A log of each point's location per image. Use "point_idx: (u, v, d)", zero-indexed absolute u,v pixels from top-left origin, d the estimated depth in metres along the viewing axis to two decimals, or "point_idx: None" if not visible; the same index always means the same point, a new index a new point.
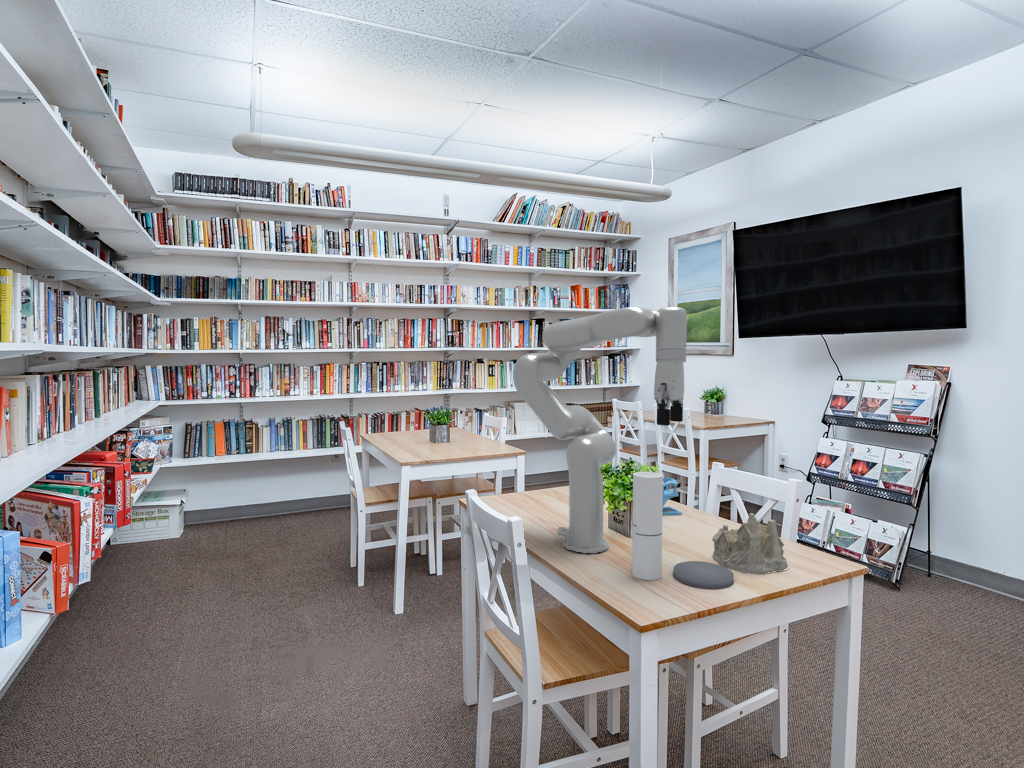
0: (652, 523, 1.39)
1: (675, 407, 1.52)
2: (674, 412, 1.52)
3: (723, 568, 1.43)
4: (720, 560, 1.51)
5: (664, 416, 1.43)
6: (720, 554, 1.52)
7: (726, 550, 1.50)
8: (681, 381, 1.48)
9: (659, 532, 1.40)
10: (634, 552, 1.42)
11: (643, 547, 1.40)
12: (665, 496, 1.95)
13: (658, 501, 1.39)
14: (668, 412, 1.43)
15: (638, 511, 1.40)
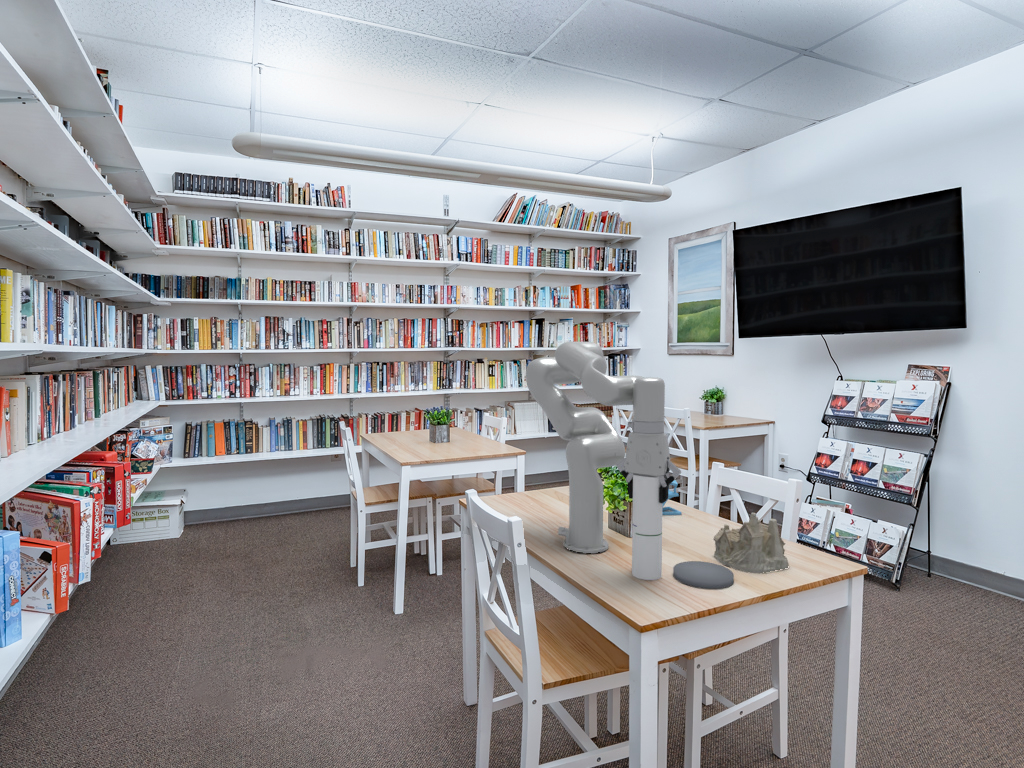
0: (652, 523, 1.39)
1: None
2: None
3: (723, 568, 1.43)
4: (722, 559, 1.51)
5: (667, 492, 1.40)
6: (721, 553, 1.53)
7: (728, 549, 1.50)
8: None
9: (659, 532, 1.40)
10: (634, 552, 1.42)
11: (643, 547, 1.40)
12: None
13: (658, 501, 1.39)
14: None
15: (638, 511, 1.40)
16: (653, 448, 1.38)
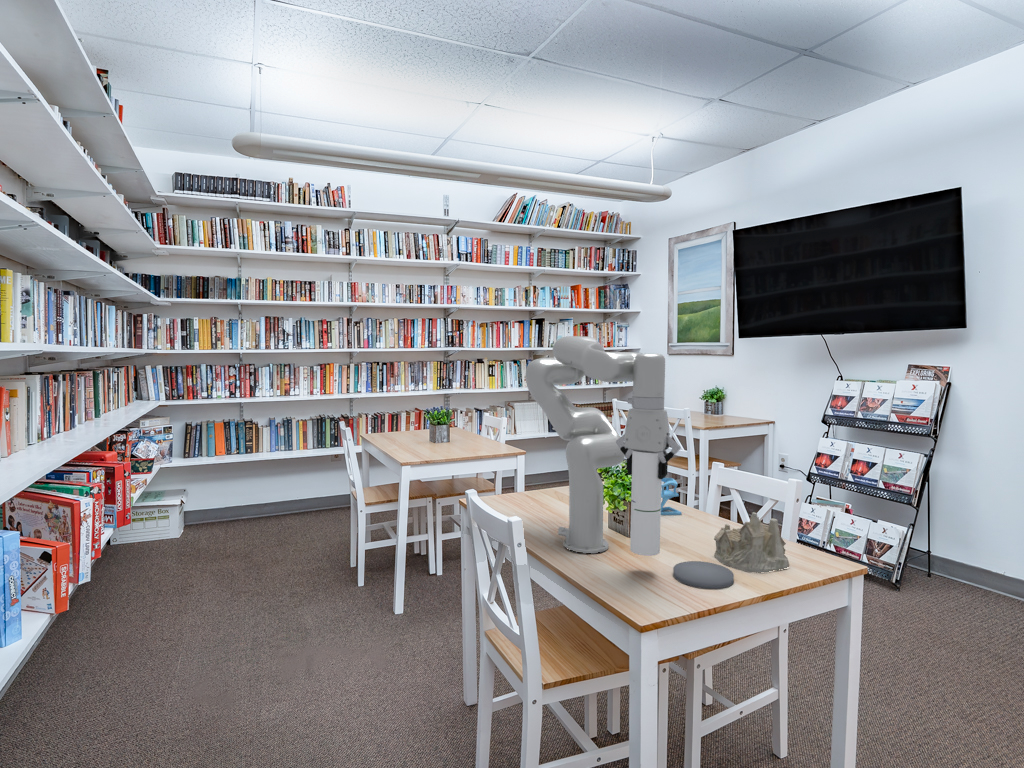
0: (651, 498, 1.39)
1: None
2: None
3: (723, 568, 1.43)
4: (722, 559, 1.51)
5: (666, 468, 1.40)
6: (722, 553, 1.53)
7: (728, 549, 1.50)
8: None
9: (658, 508, 1.40)
10: (632, 528, 1.42)
11: (641, 522, 1.40)
12: (665, 496, 1.95)
13: (657, 477, 1.39)
14: None
15: (637, 487, 1.40)
16: (653, 424, 1.38)
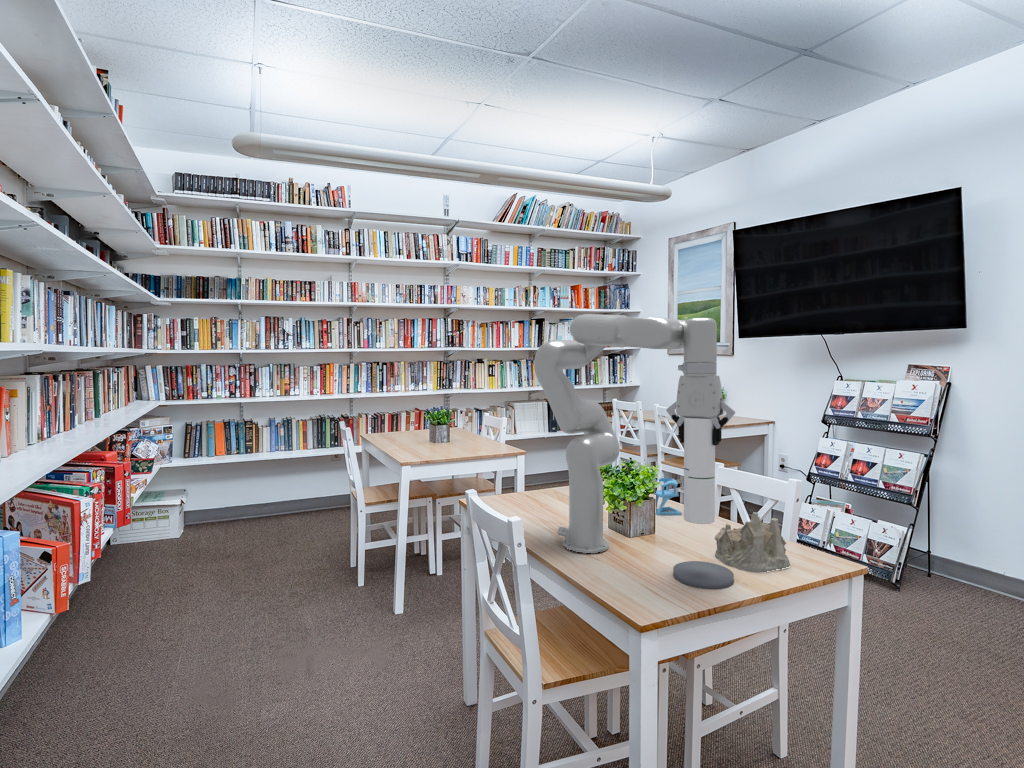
0: (705, 465, 1.37)
1: None
2: None
3: (723, 568, 1.43)
4: (723, 559, 1.51)
5: (720, 435, 1.37)
6: (723, 553, 1.53)
7: (729, 549, 1.51)
8: None
9: (712, 475, 1.37)
10: (686, 496, 1.39)
11: (696, 490, 1.37)
12: (665, 496, 1.95)
13: (711, 443, 1.37)
14: None
15: (691, 454, 1.38)
16: (706, 389, 1.36)
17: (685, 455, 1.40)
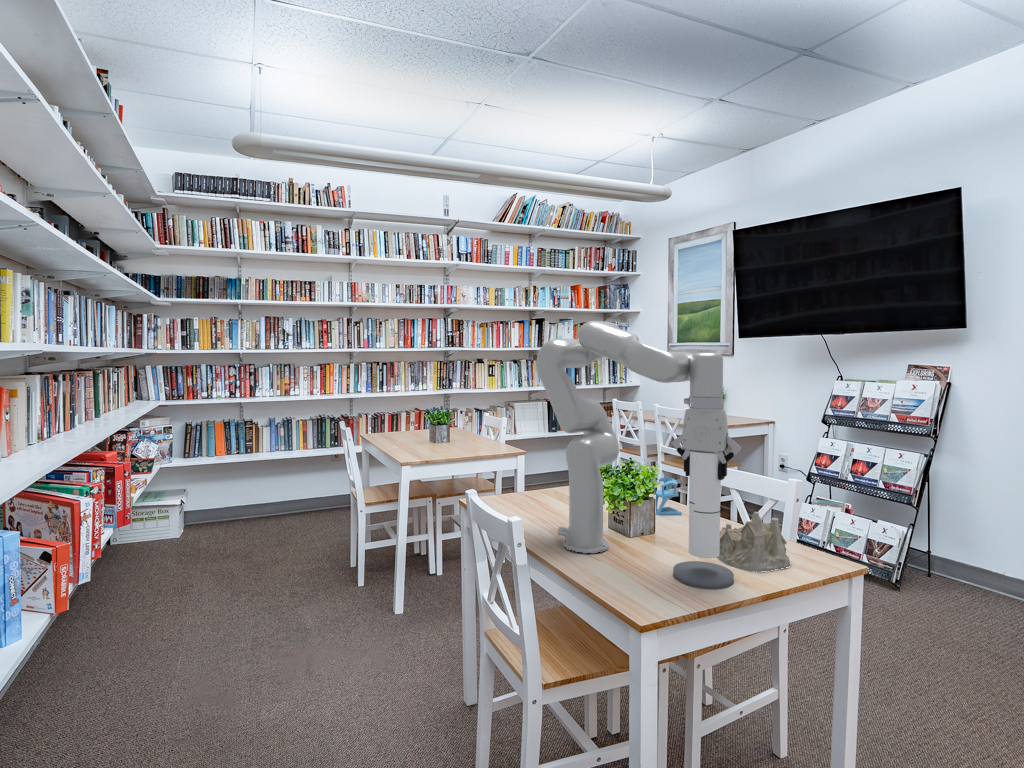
0: (711, 500, 1.37)
1: None
2: None
3: (723, 568, 1.43)
4: (724, 559, 1.52)
5: (726, 469, 1.38)
6: (724, 553, 1.53)
7: (730, 549, 1.51)
8: None
9: (718, 509, 1.38)
10: (691, 530, 1.40)
11: (701, 524, 1.38)
12: (665, 496, 1.95)
13: (716, 477, 1.37)
14: None
15: (697, 488, 1.38)
16: (712, 424, 1.36)
17: (691, 489, 1.40)
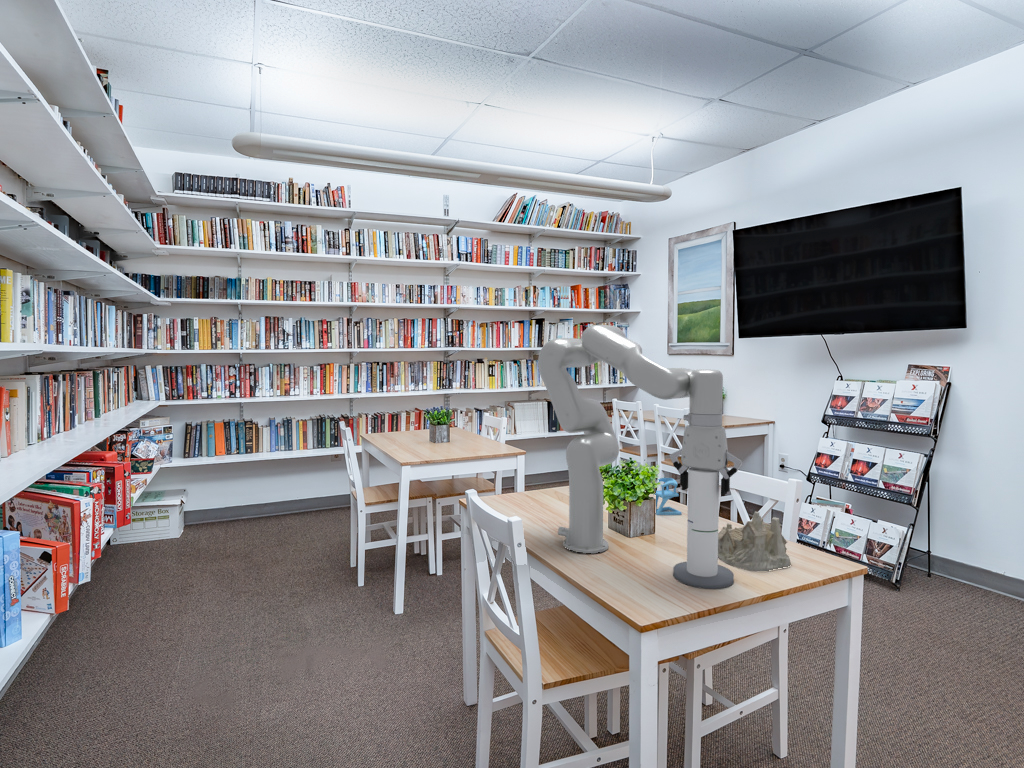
0: (709, 519, 1.37)
1: (686, 474, 1.43)
2: (686, 480, 1.42)
3: (723, 568, 1.43)
4: (725, 558, 1.52)
5: (729, 484, 1.38)
6: (724, 552, 1.53)
7: (731, 548, 1.51)
8: None
9: (716, 528, 1.38)
10: (689, 548, 1.40)
11: (700, 543, 1.38)
12: (665, 496, 1.95)
13: (715, 496, 1.37)
14: None
15: (695, 507, 1.38)
16: (712, 441, 1.36)
17: (689, 507, 1.40)
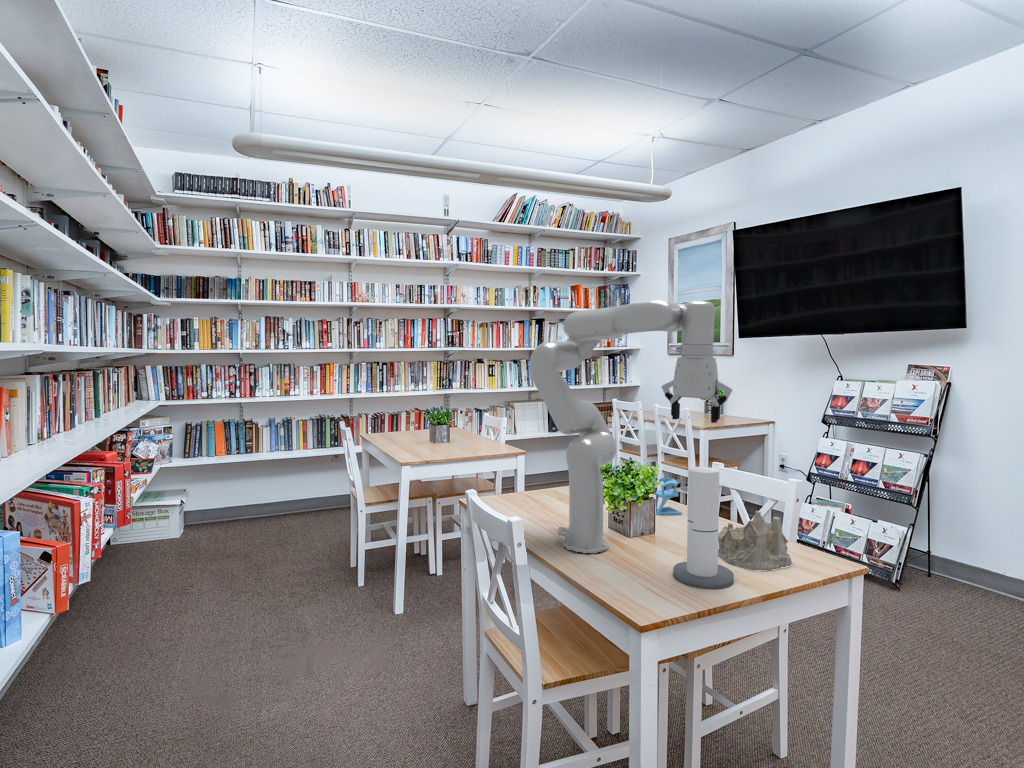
0: (709, 519, 1.37)
1: (677, 404, 1.47)
2: (677, 409, 1.47)
3: (723, 568, 1.43)
4: (726, 558, 1.52)
5: (719, 413, 1.41)
6: (725, 552, 1.54)
7: (732, 548, 1.52)
8: None
9: (716, 528, 1.38)
10: (689, 548, 1.40)
11: (700, 543, 1.38)
12: (665, 496, 1.95)
13: (715, 496, 1.37)
14: None
15: (695, 507, 1.38)
16: (702, 370, 1.40)
17: (689, 507, 1.40)
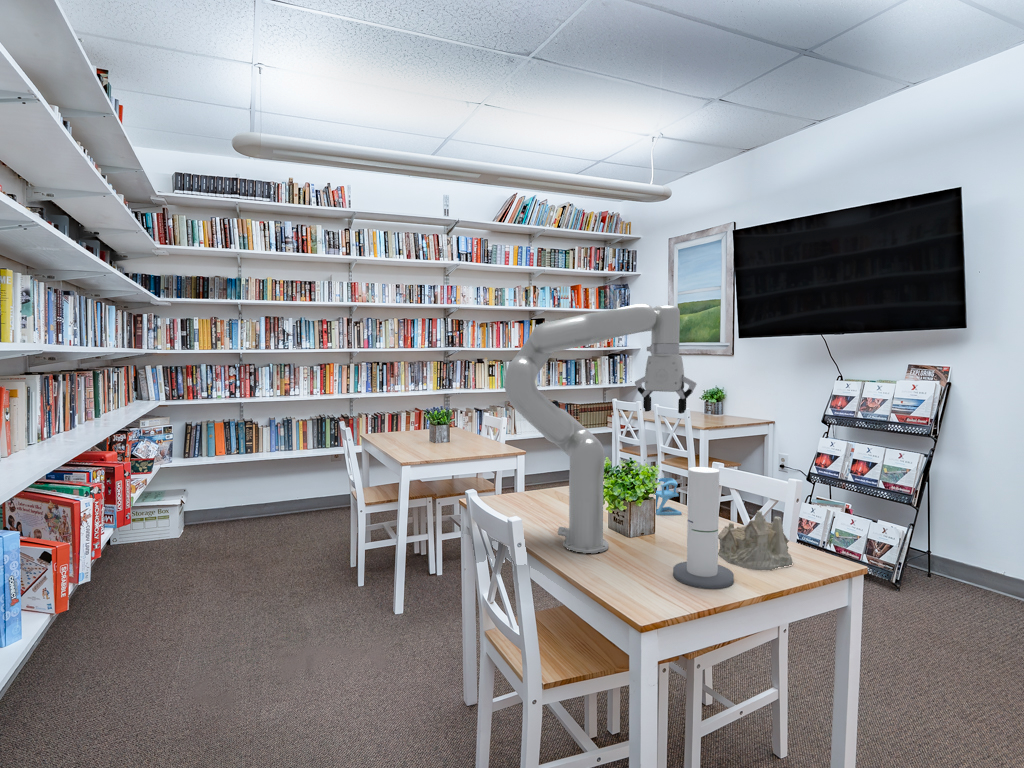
0: (709, 519, 1.37)
1: (648, 398, 1.64)
2: (648, 402, 1.64)
3: (723, 568, 1.43)
4: (727, 557, 1.52)
5: (685, 404, 1.59)
6: (727, 551, 1.54)
7: (733, 547, 1.52)
8: None
9: (716, 528, 1.38)
10: (689, 548, 1.40)
11: (700, 543, 1.38)
12: (665, 496, 1.95)
13: (715, 496, 1.37)
14: None
15: (695, 507, 1.38)
16: (670, 366, 1.58)
17: (689, 507, 1.40)
